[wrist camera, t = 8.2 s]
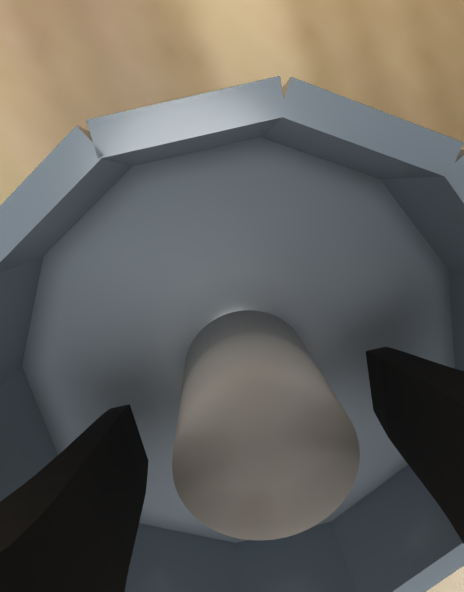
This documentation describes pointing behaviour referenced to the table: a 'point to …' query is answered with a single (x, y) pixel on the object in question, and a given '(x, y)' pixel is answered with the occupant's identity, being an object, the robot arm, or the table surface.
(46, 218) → the bowl
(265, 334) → the pebble
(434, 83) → the table surface
